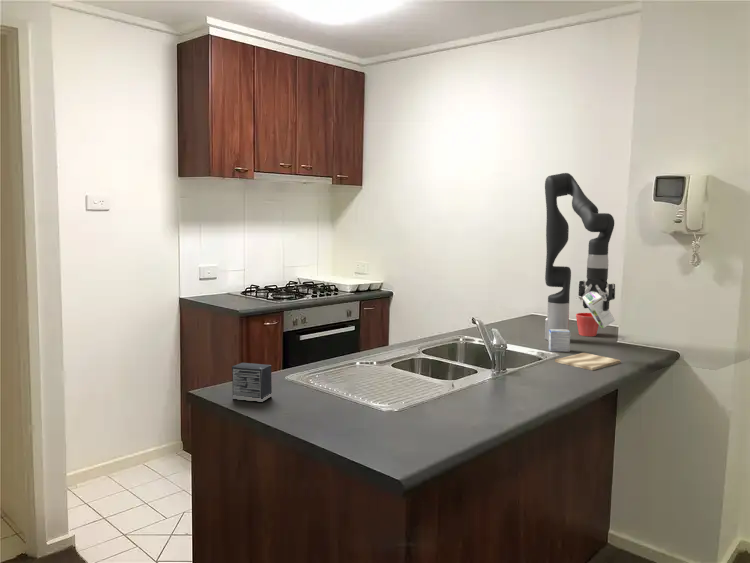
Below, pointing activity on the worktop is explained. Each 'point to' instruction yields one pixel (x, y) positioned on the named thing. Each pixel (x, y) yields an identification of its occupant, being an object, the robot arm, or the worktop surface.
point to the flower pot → (586, 324)
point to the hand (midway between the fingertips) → (595, 309)
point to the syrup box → (598, 309)
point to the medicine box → (559, 340)
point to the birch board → (588, 361)
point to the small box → (251, 380)
